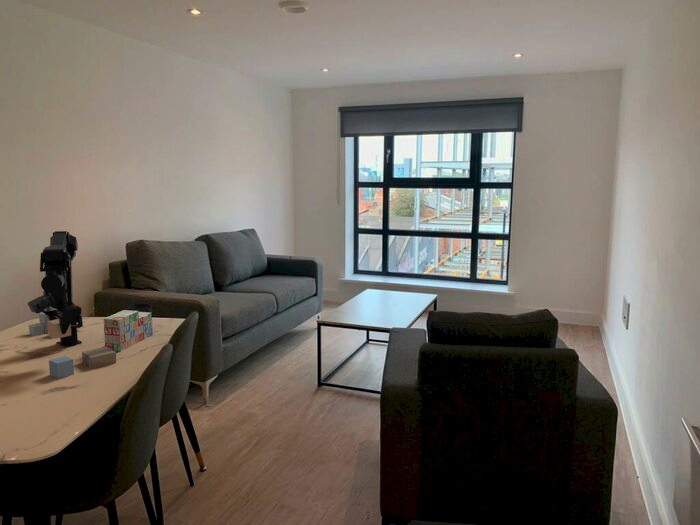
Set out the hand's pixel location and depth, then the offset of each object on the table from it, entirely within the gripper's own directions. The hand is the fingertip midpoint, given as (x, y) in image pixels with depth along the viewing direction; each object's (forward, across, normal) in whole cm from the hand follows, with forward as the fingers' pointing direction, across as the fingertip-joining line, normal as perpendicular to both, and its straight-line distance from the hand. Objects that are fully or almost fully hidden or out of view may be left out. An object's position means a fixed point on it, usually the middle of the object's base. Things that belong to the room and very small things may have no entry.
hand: (59, 332), depth 172 cm
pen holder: (+11, -14, +39) cm, 43 cm away
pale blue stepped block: (+11, -35, +15) cm, 40 cm away
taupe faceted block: (+11, +9, +8) cm, 16 cm away
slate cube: (+11, +10, -5) cm, 15 cm away
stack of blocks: (+11, -2, +27) cm, 29 cm away
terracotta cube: (+1, 0, 0) cm, 1 cm away
